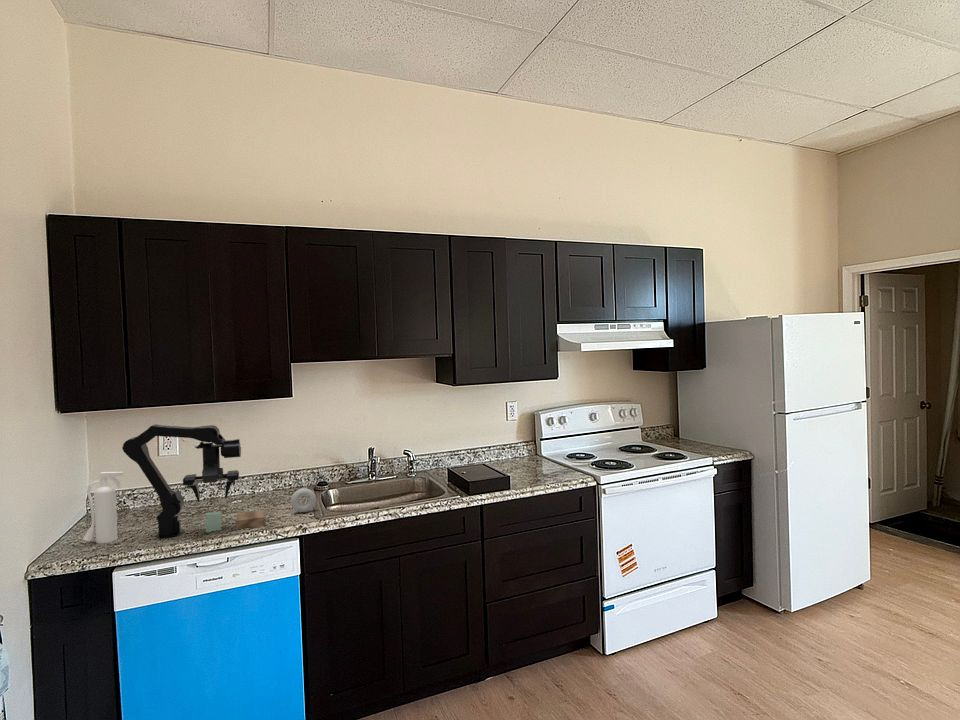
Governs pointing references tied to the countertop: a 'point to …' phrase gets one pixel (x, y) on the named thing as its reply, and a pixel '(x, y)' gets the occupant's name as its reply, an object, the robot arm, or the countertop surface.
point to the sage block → (213, 521)
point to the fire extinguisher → (103, 509)
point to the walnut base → (250, 519)
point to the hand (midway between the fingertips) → (212, 500)
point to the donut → (306, 506)
